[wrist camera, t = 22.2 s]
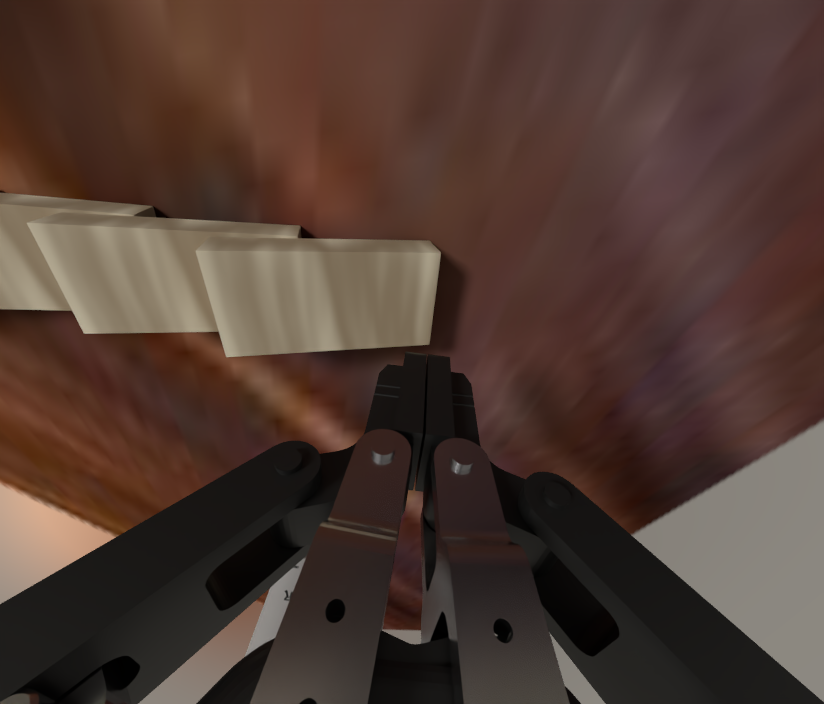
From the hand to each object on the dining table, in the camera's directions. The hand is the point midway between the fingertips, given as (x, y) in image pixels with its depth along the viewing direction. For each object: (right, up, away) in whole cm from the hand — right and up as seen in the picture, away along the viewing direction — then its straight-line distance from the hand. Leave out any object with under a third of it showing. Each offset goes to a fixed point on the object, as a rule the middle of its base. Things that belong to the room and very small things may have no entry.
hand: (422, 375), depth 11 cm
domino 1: (+1, +4, +6) cm, 7 cm away
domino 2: (-6, +5, +6) cm, 10 cm away
